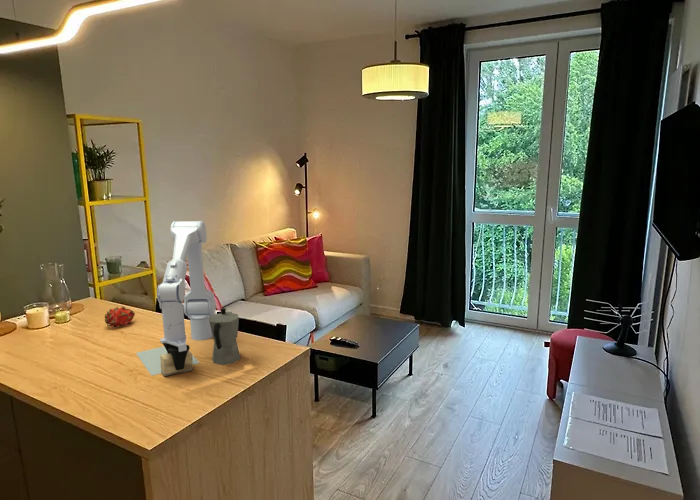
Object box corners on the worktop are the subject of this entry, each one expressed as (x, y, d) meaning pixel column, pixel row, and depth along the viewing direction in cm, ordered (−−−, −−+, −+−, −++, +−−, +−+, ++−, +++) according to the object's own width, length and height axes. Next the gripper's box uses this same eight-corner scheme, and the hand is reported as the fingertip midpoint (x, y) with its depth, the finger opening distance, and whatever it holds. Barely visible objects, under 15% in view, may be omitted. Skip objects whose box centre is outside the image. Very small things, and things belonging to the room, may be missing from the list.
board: (180, 346, 155) (179, 342, 155) (200, 367, 139) (199, 362, 139) (136, 357, 147) (135, 353, 146) (152, 380, 131) (151, 375, 131)
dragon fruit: (102, 334, 171) (133, 329, 180) (112, 325, 166) (143, 320, 176) (96, 314, 173) (127, 310, 183) (106, 304, 169) (137, 301, 179)
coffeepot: (217, 354, 149) (214, 301, 145) (246, 354, 149) (243, 301, 145) (202, 376, 133) (198, 318, 130) (234, 376, 133) (230, 317, 130)
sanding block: (188, 365, 137) (188, 349, 137) (192, 369, 134) (192, 353, 133) (160, 371, 133) (160, 355, 132) (164, 376, 130) (163, 359, 129)
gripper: (152, 318, 134) (156, 361, 137) (166, 333, 123) (170, 379, 125) (177, 313, 138) (180, 355, 141) (192, 327, 127) (196, 372, 130)
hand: (177, 366), depth 133 cm, fingers closed on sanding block, 4 cm apart
